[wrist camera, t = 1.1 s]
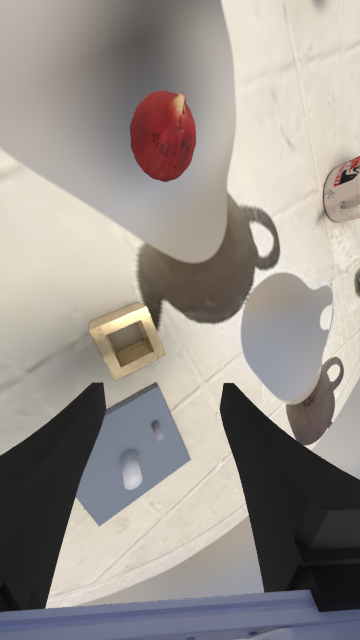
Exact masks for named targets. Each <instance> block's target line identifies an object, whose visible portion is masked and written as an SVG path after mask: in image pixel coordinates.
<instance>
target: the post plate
mask: <svg viewBox="0 0 360 640" xmlns="http://www.w3.org/2000/svg"><path fill="white" fill-rule="evenodd" d="M190 460H191V458H190V456H189V454H188V452H187V449H186V447H185V445H184V443H183V440H182V438H181V436H180V434H179V431H178V429H177V427H176V425H175V422H174V420H173V418H172V416H171V413H170V411H169V409H168V407H167V404H166V402H165V400H164V398H163V395H162V393H161V391H160V389H159V386H158V385H157V383H154V384H152V385H151V386H149V387H147V388H145V389H144V390H142V391H140V392H138V393H136V394H135V395H133V396H131V397H129V398H127V399H126V400H124V401H122V402H120V403H118V404H117V405H115V406H113V407H111V408H110V409H108V410H106V412H105V416H104V420H103V423H102V427H101V429H100V432H99V435H98V437H97V440H96V442H95V445H94V447H93V450H92V452H91V455H90V457H89V459H88V462H87V464H86V467H85V469H84V472H83V475H82V478H81V481H80V484H79V487H78V490H77V493H76V498H77V499H78V500H79V501H80V503H81V504H82V505H83V507H84V508H85V509H86V510H87V512H88V513H89V514H90V515H91V517H92V518H93V519H94V520H95V522H96V523H97V524H98V526H101V525H102V524H103V523H105V522H106V521H107V520H109V519H110V518H112V517H113V516H114V515H116V514H117V513H118V512H120V511H121V510H123V509H124V508H125V507H127V506H128V505H129V504H131V503H132V502H133V501H135V500H136V499H138V498H139V497H140V496H142V495H143V494H144V493H146V492H147V491H149V490H150V489H151V488H153V487H154V486H155V485H157V484H158V483H159V482H161V481H162V480H164V479H165V478H166V477H168V476H169V475H170V474H172V473H173V472H175V471H176V470H177V469H179V468H180V467H181V466H183V465H184V464H185V463H187V462H188V461H190Z"/></svg>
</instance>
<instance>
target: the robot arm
mask: <svg viewBox="0 0 360 640" xmlns="http://www.w3.org/2000/svg"><path fill="white" fill-rule="evenodd" d="M105 412H106V403H105V394H104V386H103V383H92V384H90V385H89V386H88V387H87V388H86V389H85V390H84V391H83V392H82V393H81V394H80V395H79V396H78V397H76V398H75V399H74V400H73V401H72V402H71V403H70V404H69V405H68V406H67V407H65V408H64V409H63V410H62V411H61V412H60V413H59V414H57V415H56V416H55V417H54V418H53V419H51V420H50V421H49V422H48V423H47V424H45V425H44V426H43V427H41V428H40V429H39V430H38V431H36V432H35V433H33V434H32V435H31V436H29V437H28V438H27V439H25V440H24V441H22V442H21V443H19V444H18V445H16V446H15V447H13V448H12V449H10V450H9V451H7V452H6V453H4V454H2V455H1V456H0V640H235V639H246V638H249V639H247V640H360V480H359V479H357V478H355V477H353V476H351V475H350V474H348V473H346V472H344V471H342V470H341V469H339V468H337V467H336V466H334V465H333V464H331V463H329V462H327V461H326V460H324V459H323V458H321V457H320V456H318V455H317V454H315V453H313V452H312V451H311V450H309V449H308V448H306V447H305V446H303V445H302V444H300V443H299V442H298V441H296V440H295V439H294V438H292V437H291V436H290V435H288V434H287V433H286V432H285V431H283V430H282V429H281V428H279V427H278V426H277V425H276V424H275V423H274V422H272V421H271V420H270V419H269V418H268V417H267V416H266V415H265V414H264V413H262V412H261V411H260V410H259V409H258V408H257V407H256V406H255V405H254V404H253V403H252V402H251V401H250V400H249V399H248V398H247V397H246V396H245V395H244V394H243V392H242V391H241V390H240V389H239V388H238V387H237V386H236V385H235V384H234V383H224V385H223V391H222V398H221V404H220V413H221V418H222V422H223V427H224V430H225V433H226V436H227V439H228V442H229V445H230V448H231V451H232V453H233V456H234V459H235V462H236V465H237V469H238V472H239V475H240V479H241V483H242V488H243V492H244V496H245V500H246V504H247V509H248V513H249V517H250V522H251V527H252V531H253V536H254V540H255V546H256V550H257V555H258V561H259V566H260V571H261V576H262V581H263V586H264V592H265V593H255V594H242V595H228V596H215V597H201V598H186V599H173V600H159V601H146V602H132V603H119V604H104V605H91V606H77V607H63V608H49V609H45V607H46V603H47V599H48V595H49V591H50V587H51V583H52V579H53V575H54V572H55V568H56V564H57V560H58V556H59V553H60V549H61V545H62V542H63V538H64V534H65V531H66V527H67V524H68V520H69V517H70V513H71V510H72V507H73V503H74V500H75V497H76V493H77V490H78V487H79V484H80V481H81V478H82V475H83V472H84V469H85V467H86V464H87V462H88V459H89V457H90V455H91V452H92V450H93V447H94V445H95V442H96V440H97V437H98V435H99V432H100V429H101V427H102V423H103V420H104V416H105Z"/></svg>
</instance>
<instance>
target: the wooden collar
mask: <svg viewBox="0 0 360 640" xmlns="http://www.w3.org/2000/svg"><path fill="white" fill-rule="evenodd" d="M135 322H137V324H138V326H139V328H140V331H141V333H142V335H143V338H144V340H142V341H140V342H138V343H136V344H134V345H131V346H129V347H127V348H125V349H123V350H121V351H119V352H117V353H116V351H115V349H114V347H113V345H112V343H111V341H110V339H109V337H108V334H110V333H112V332H115V331H117V330H119V329H121V328H124V327H126V326H128V325H130V324H133V323H135ZM89 332H90V334H91V335H92V337H93V339H94V341H95V343H96V345H97V347H98V349H99V351H100V353H101V355H102V356H103V358H104V360H105V362H106V364H107V366H108V368H109V370H110V372H111V374H112V375H113V377H114V379H115V381H117V380H118V379H120V378H122V377H124V376H126V375H128V374H130V373H132V372H134V371H136V370H139V369H141V368H143V367H145V366H146V365H147V364H149V363H151V362H153V361H155V360H157V359H159V358H161V357H163V356H165V355H166V353H165V351H164V348H163V346H162V343H161V341H160V338H159V336H158V333H157V331H156V328H155V326H154V323H153V321H152V318H151V316H150V313H149V311H148V309H147V306H145V305H143V304H141V303H139V302H136V303H134V304H132V305H129V306H127V307H124V308H122V309H119V310H117V311H114V312H112V313H110V314H107V315H105V316H102V317H100V318H97V319H95V320H93V321H90V327H89Z"/></svg>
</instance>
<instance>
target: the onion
mask: <svg viewBox="0 0 360 640" xmlns="http://www.w3.org/2000/svg"><path fill="white" fill-rule="evenodd" d="M130 133H131V148H132V151H133V153H134V156H135V159H136V161H137V163H138V164H139V165H140V167H141V168H142V170H143V171H144V172H145V173H147V174H148V175H149V176H150V177H151V178H153V179H157V180H160V181H164V182H167V181H170V180H174V179H176V178H178V177H179V176H181V174H182V173H183V172H184V171H185V170H186V169H187V168H188V166H189V164H190V163H191V159H192V156H193V152H194V148H195V144H196V131H195V122H194V119H193V117H192V114H191V111H190V109H189V107H188V106H187V104H186V96H185V95H184V94H183V93H179V95H177V94H175V93H171V92H168V91H159V92H153V93H151V94H149V95H148V96H147V97H146V98H145V99H144V100H143V101H142V102H141V103H140V104H139V105H138V106H137V108H136V111H135V113H134V116H133V119H132V122H131V125H130Z"/></svg>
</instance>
